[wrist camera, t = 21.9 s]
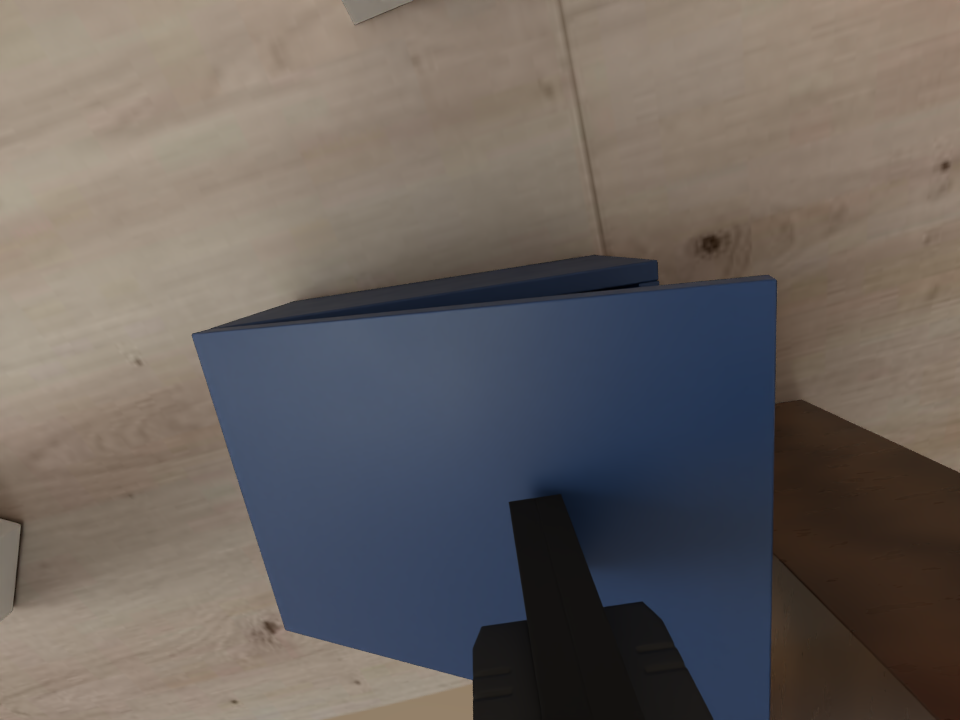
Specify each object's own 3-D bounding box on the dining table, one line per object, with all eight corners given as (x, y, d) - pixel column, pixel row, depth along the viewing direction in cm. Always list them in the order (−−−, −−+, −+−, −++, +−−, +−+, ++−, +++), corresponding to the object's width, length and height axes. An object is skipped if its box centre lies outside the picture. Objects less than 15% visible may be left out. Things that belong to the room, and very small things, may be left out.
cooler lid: (770, 274, 10) (777, 278, 9) (764, 731, 13) (769, 760, 13) (210, 328, 17) (190, 333, 17) (298, 616, 21) (284, 630, 20)
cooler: (595, 254, 26) (658, 259, 17) (613, 467, 29) (673, 560, 21) (292, 301, 26) (206, 329, 17) (345, 507, 29) (295, 615, 21)
